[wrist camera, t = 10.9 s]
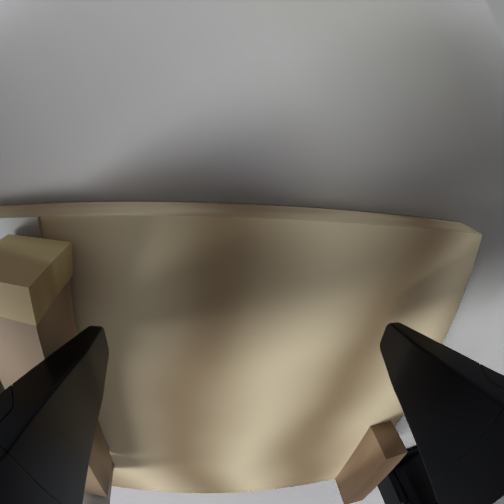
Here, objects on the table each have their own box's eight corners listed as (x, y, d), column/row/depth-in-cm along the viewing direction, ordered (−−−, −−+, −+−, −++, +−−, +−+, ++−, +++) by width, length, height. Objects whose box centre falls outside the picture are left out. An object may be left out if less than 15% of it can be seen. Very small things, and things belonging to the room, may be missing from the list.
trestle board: (460, 222, 11) (541, 271, 7) (354, 456, 18) (375, 507, 14) (-50, 209, 8) (-125, 256, 3) (56, 456, 15) (44, 509, 10)
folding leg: (114, 458, 12) (109, 499, 10) (73, 449, 12) (64, 488, 9) (71, 241, 7) (28, 287, 5) (8, 234, 7) (-41, 272, 5)
